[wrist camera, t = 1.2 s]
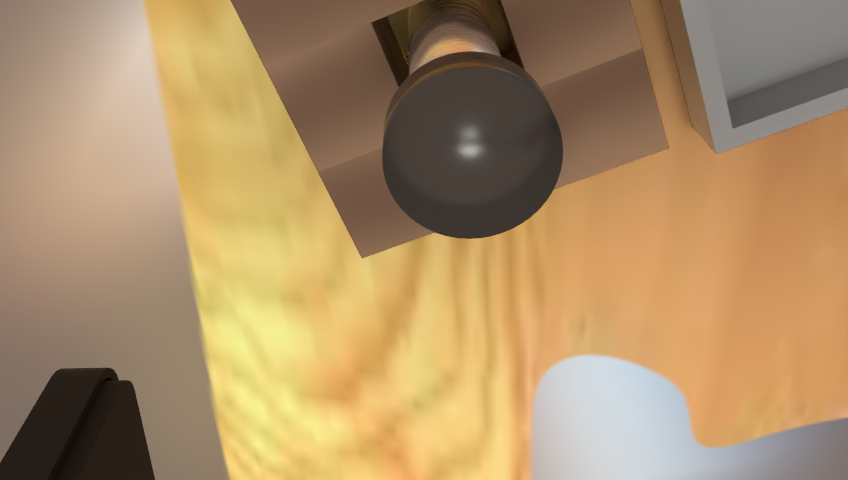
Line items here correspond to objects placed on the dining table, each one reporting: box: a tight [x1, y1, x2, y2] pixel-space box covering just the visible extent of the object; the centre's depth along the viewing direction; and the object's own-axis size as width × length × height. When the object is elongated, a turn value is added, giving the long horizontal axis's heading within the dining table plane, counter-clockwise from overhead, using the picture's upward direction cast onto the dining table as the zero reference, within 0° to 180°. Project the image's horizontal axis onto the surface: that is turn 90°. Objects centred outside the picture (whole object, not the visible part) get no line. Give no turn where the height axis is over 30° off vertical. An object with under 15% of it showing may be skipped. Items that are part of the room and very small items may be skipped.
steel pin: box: [382, 0, 563, 239], centre depth 25 cm, size 4×4×14 cm
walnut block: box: [231, 0, 669, 258], centre depth 29 cm, size 12×12×5 cm
